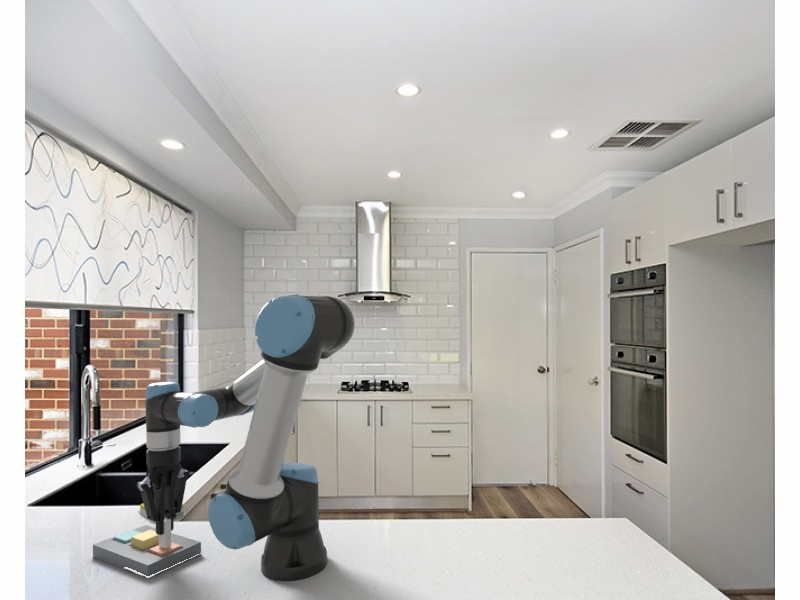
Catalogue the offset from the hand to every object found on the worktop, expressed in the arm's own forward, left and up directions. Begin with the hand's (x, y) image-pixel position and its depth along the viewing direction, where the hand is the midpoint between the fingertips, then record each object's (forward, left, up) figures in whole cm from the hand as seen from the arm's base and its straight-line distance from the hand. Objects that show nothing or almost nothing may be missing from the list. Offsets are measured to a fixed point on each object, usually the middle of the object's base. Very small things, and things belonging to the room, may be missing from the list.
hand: (165, 546), depth 128 cm
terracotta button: (0, 0, -3) cm, 3 cm away
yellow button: (+7, 0, -2) cm, 8 cm away
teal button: (+15, 0, -3) cm, 15 cm away
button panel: (+7, 0, -4) cm, 8 cm away
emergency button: (+31, -20, -5) cm, 37 cm away
